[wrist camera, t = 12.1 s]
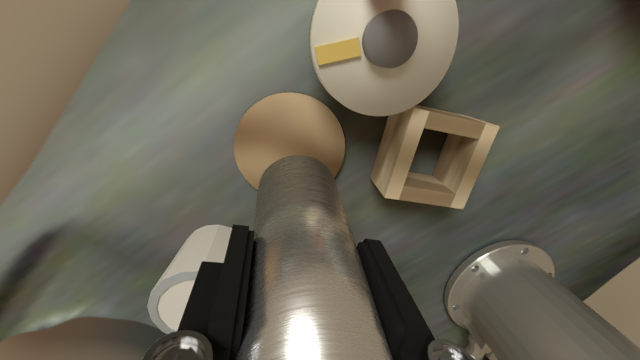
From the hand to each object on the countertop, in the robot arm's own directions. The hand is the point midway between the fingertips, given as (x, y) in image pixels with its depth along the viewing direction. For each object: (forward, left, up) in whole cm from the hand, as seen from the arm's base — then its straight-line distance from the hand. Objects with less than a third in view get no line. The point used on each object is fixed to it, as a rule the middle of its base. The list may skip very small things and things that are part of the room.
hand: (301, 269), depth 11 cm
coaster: (0, 0, -15) cm, 15 cm away
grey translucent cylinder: (+1, 0, -5) cm, 5 cm away
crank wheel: (+9, -4, -12) cm, 15 cm away
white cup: (-11, +5, -15) cm, 20 cm away
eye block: (+2, -11, -15) cm, 19 cm away
